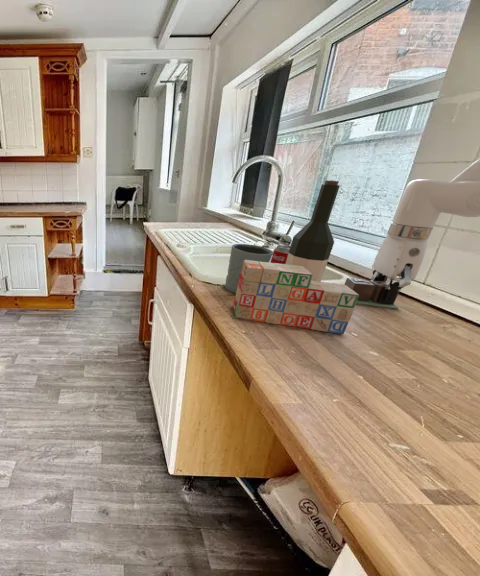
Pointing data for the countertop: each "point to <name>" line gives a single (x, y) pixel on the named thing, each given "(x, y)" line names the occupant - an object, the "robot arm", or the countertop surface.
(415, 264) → the robot arm
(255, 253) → the grey cylindrical pot
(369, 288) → the dark brown cube
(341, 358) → the countertop surface
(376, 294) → the dark brown wooden box
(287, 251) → the beverage can
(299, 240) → the wine bottle
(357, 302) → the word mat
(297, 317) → the stack of blocks
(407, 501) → the countertop surface
